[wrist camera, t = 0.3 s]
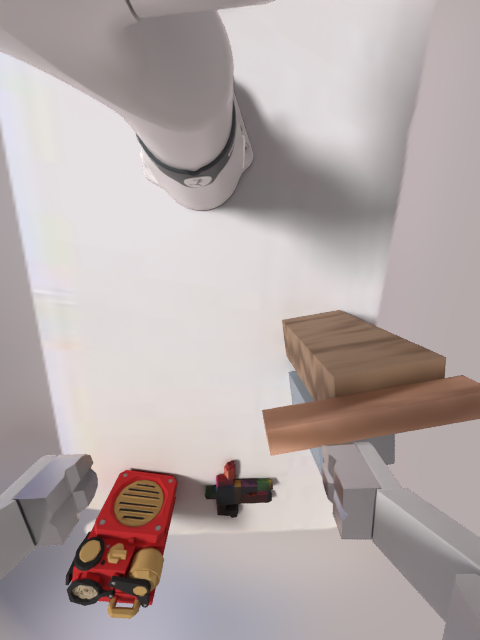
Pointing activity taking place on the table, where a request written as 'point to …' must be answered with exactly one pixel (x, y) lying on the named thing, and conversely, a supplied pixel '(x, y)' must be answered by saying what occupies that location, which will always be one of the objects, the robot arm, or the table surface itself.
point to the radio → (125, 545)
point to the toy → (237, 491)
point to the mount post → (354, 356)
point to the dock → (381, 443)
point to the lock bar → (372, 414)
